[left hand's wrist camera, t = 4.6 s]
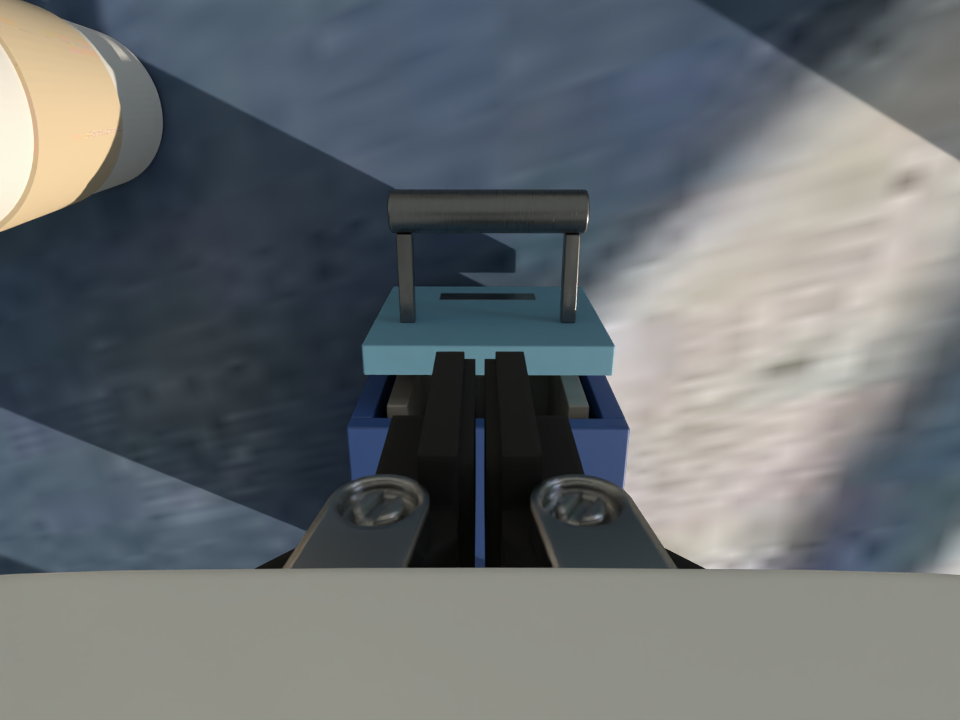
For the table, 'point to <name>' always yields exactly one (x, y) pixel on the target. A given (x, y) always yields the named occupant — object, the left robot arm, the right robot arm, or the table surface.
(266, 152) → the table surface
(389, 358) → the drawer
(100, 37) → the coffee cup
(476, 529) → the blue storage bin
